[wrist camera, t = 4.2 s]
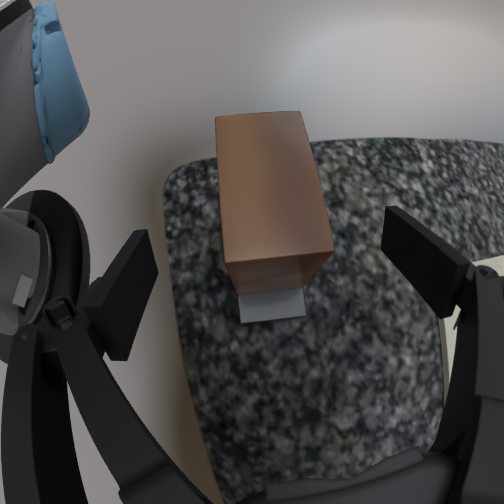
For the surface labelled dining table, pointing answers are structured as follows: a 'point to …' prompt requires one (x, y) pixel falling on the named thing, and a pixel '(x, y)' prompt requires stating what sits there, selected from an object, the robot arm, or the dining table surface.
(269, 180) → the eraser
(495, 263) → the board
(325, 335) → the dining table surface
